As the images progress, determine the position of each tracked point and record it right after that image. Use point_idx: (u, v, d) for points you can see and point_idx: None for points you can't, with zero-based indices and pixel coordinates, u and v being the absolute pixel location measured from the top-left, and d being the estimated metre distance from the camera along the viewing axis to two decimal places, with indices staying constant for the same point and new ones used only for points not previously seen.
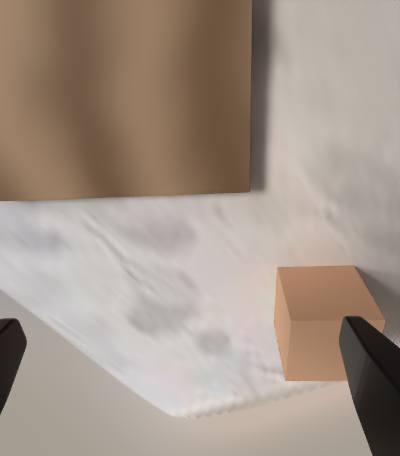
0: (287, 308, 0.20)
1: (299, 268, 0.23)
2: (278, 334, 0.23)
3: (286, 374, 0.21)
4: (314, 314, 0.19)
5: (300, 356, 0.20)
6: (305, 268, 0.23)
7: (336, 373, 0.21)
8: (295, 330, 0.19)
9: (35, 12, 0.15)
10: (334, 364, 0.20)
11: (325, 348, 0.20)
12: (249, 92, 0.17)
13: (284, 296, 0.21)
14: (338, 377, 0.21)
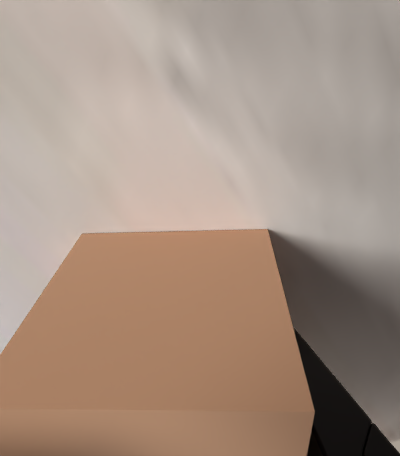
0: (8, 351, 0.06)
1: (132, 237, 0.09)
2: None
3: None
4: (67, 379, 0.05)
5: None
6: (145, 237, 0.09)
7: None
8: (0, 436, 0.05)
9: None
10: None
11: None
12: None
13: None
14: None
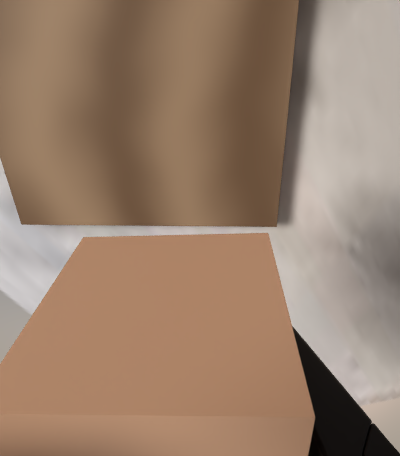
0: (10, 356, 0.06)
1: (133, 241, 0.09)
2: None
3: None
4: (68, 384, 0.05)
5: None
6: (146, 240, 0.09)
7: None
8: (4, 441, 0.05)
9: (79, 49, 0.16)
10: None
11: None
12: (284, 133, 0.17)
13: (37, 315, 0.07)
14: None
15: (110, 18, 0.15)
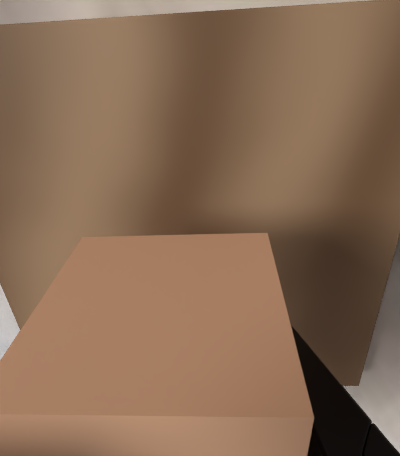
0: (8, 356, 0.06)
1: (132, 240, 0.09)
2: None
3: None
4: (67, 384, 0.05)
5: None
6: (145, 240, 0.09)
7: None
8: (1, 442, 0.05)
9: (120, 216, 0.12)
10: None
11: None
12: (380, 298, 0.13)
13: (36, 314, 0.07)
14: None
15: (162, 183, 0.11)
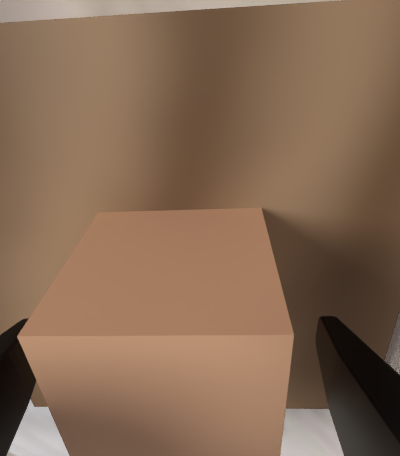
0: None
1: (143, 215, 0.10)
2: None
3: None
4: (96, 316, 0.07)
5: (89, 425, 0.08)
6: (154, 214, 0.10)
7: None
8: (43, 362, 0.07)
9: None
10: (182, 445, 0.08)
11: (144, 409, 0.07)
12: (395, 320, 0.12)
13: None
14: None
15: (159, 198, 0.10)
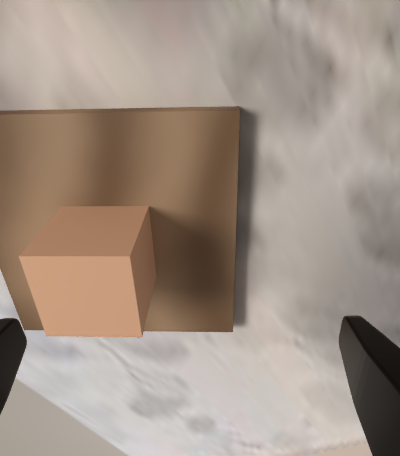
0: None
1: (85, 208, 0.19)
2: None
3: (44, 327, 0.18)
4: (52, 250, 0.16)
5: (50, 303, 0.17)
6: (91, 208, 0.19)
7: (101, 327, 0.17)
8: (29, 269, 0.16)
9: None
10: (93, 315, 0.17)
11: (74, 294, 0.16)
12: (233, 272, 0.21)
13: None
14: (105, 332, 0.17)
15: (94, 199, 0.19)
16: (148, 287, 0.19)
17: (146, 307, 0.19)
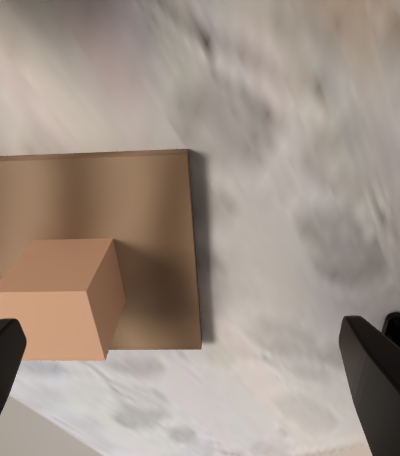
0: None
1: (55, 241, 0.21)
2: None
3: None
4: (19, 285, 0.17)
5: None
6: (60, 241, 0.21)
7: (67, 352, 0.19)
8: None
9: None
10: (59, 342, 0.19)
11: (40, 323, 0.18)
12: (196, 295, 0.23)
13: None
14: (71, 356, 0.19)
15: (63, 233, 0.21)
16: (114, 313, 0.21)
17: (111, 332, 0.20)
